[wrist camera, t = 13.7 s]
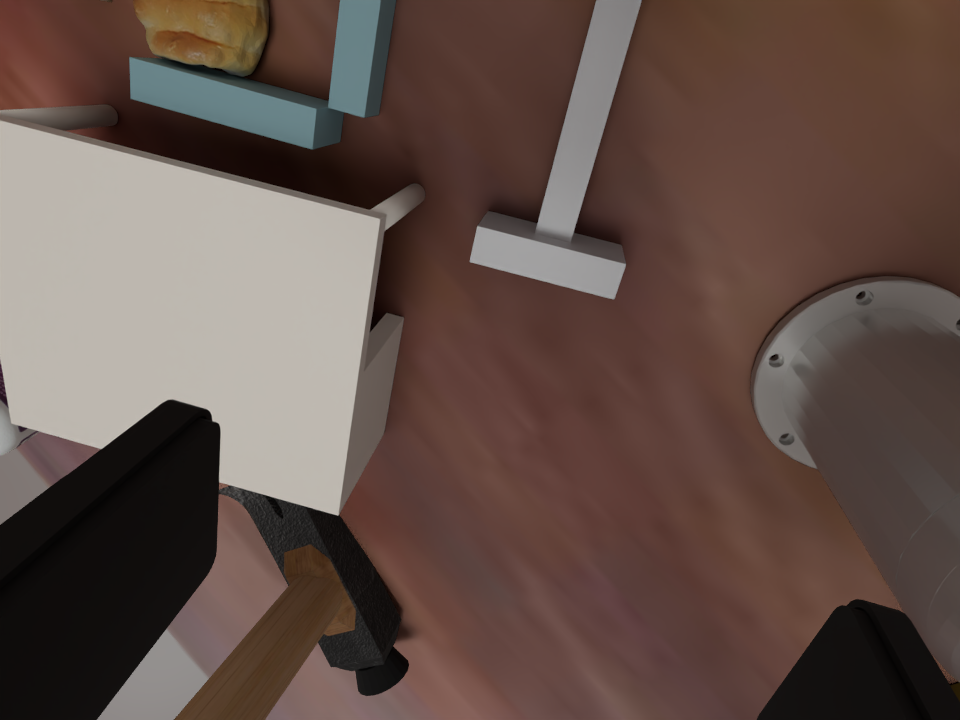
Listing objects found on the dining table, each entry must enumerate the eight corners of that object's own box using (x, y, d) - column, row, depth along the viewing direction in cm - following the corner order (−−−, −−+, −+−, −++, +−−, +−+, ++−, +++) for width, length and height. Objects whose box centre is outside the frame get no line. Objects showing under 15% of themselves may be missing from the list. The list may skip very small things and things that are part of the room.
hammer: (261, 456, 48) (-248, 825, 20) (311, 438, 47) (-166, 810, 19) (368, 662, 51) (56, 1229, 23) (418, 651, 50) (148, 1245, 22)
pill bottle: (26, 331, 44) (-110, 393, 35) (94, 359, 44) (-25, 428, 35) (25, 390, 46) (-102, 461, 38) (90, 416, 46) (-22, 493, 38)
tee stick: (751, -143, 26) (794, -199, 21) (610, 277, 35) (616, 312, 30) (576, -183, 27) (574, -248, 21) (480, 243, 36) (463, 272, 30)
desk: (427, 186, 35) (380, 219, 27) (384, 433, 43) (338, 515, 35) (98, 102, 36) (-43, 109, 28) (116, 359, 44) (11, 423, 35)
